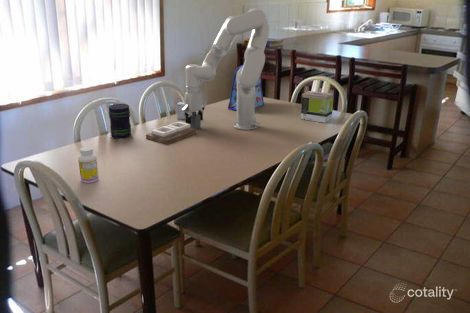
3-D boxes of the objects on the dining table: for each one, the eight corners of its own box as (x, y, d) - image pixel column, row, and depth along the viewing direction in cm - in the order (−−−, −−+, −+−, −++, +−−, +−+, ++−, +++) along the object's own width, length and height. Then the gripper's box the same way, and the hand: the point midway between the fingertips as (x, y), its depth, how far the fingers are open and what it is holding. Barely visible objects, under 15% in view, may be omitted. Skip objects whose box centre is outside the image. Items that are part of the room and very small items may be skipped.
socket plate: (190, 128, 229) (190, 124, 228) (163, 138, 215) (163, 133, 214) (175, 125, 234) (175, 120, 234) (148, 134, 220) (148, 129, 219)
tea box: (332, 119, 254) (334, 93, 249) (325, 123, 246) (327, 97, 241) (307, 115, 262) (309, 90, 256) (300, 119, 254) (301, 93, 248)
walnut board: (196, 133, 229) (196, 129, 228) (166, 144, 213) (166, 140, 212) (176, 128, 236) (176, 124, 236) (146, 138, 221) (145, 134, 220)
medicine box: (192, 117, 255) (192, 102, 252) (191, 119, 251) (190, 104, 248) (178, 117, 256) (178, 102, 253) (177, 119, 252) (176, 104, 249)
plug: (200, 127, 237) (200, 112, 234) (195, 129, 234) (195, 113, 231) (193, 126, 240) (193, 110, 237) (188, 127, 237) (187, 112, 234)
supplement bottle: (83, 176, 177) (79, 145, 172) (100, 176, 177) (97, 145, 173) (79, 183, 171) (75, 151, 166) (97, 183, 171) (93, 151, 166)
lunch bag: (246, 113, 265) (247, 63, 255) (227, 109, 272) (227, 61, 262) (264, 105, 282) (266, 58, 272) (246, 102, 289) (246, 56, 279)
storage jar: (124, 131, 231) (122, 102, 226) (135, 135, 225) (133, 106, 219) (107, 135, 225) (104, 106, 219) (117, 140, 218) (115, 110, 213)
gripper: (199, 85, 239) (199, 117, 245) (176, 91, 226) (177, 124, 232) (210, 87, 234) (210, 119, 241) (187, 93, 221) (188, 127, 228)
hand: (194, 121), depth 236 cm, fingers open, 8 cm apart
